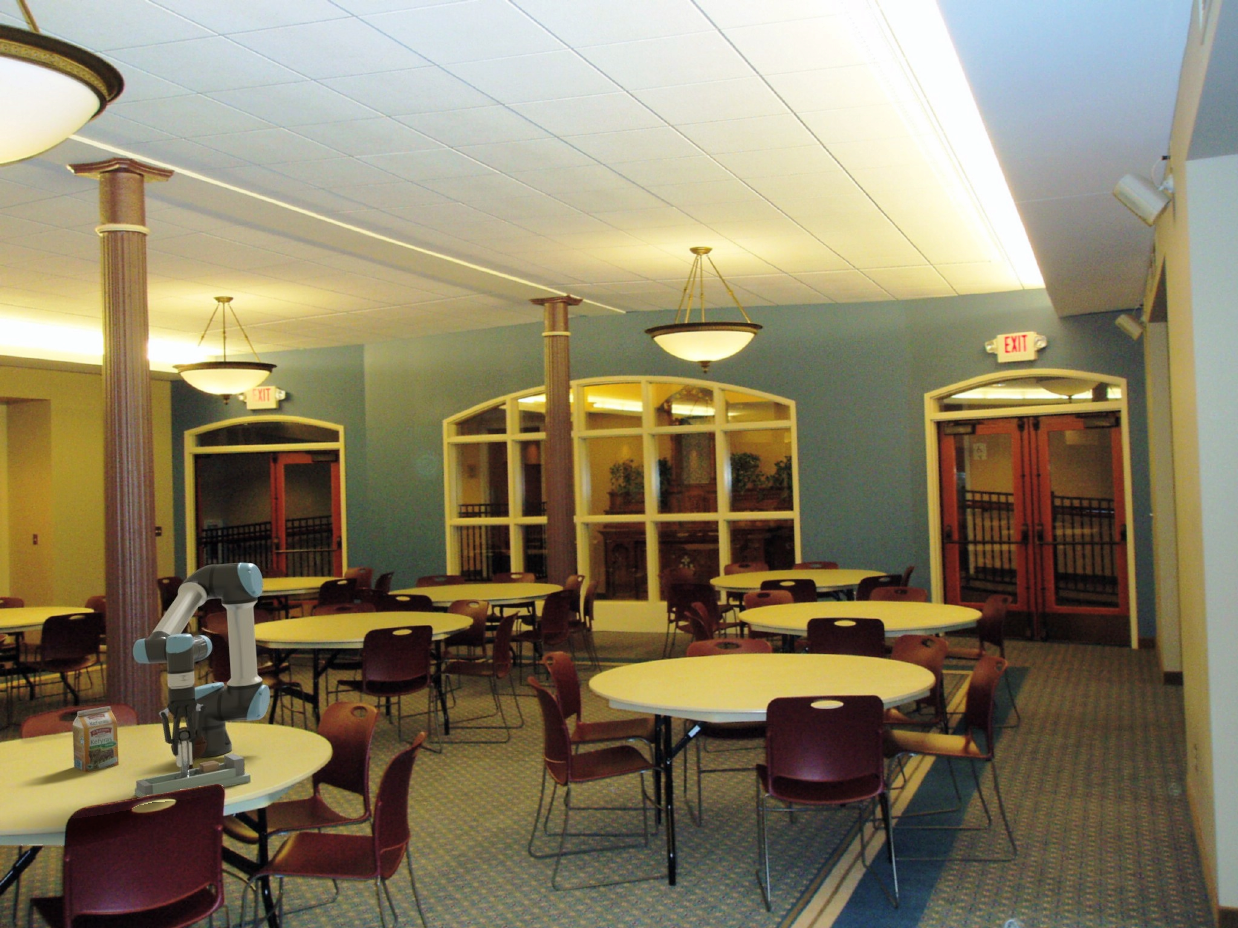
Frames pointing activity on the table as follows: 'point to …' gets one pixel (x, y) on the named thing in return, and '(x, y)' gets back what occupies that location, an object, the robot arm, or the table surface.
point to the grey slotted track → (196, 778)
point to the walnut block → (209, 766)
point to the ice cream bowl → (196, 747)
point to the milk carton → (95, 739)
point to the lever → (186, 756)
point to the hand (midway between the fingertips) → (184, 764)
